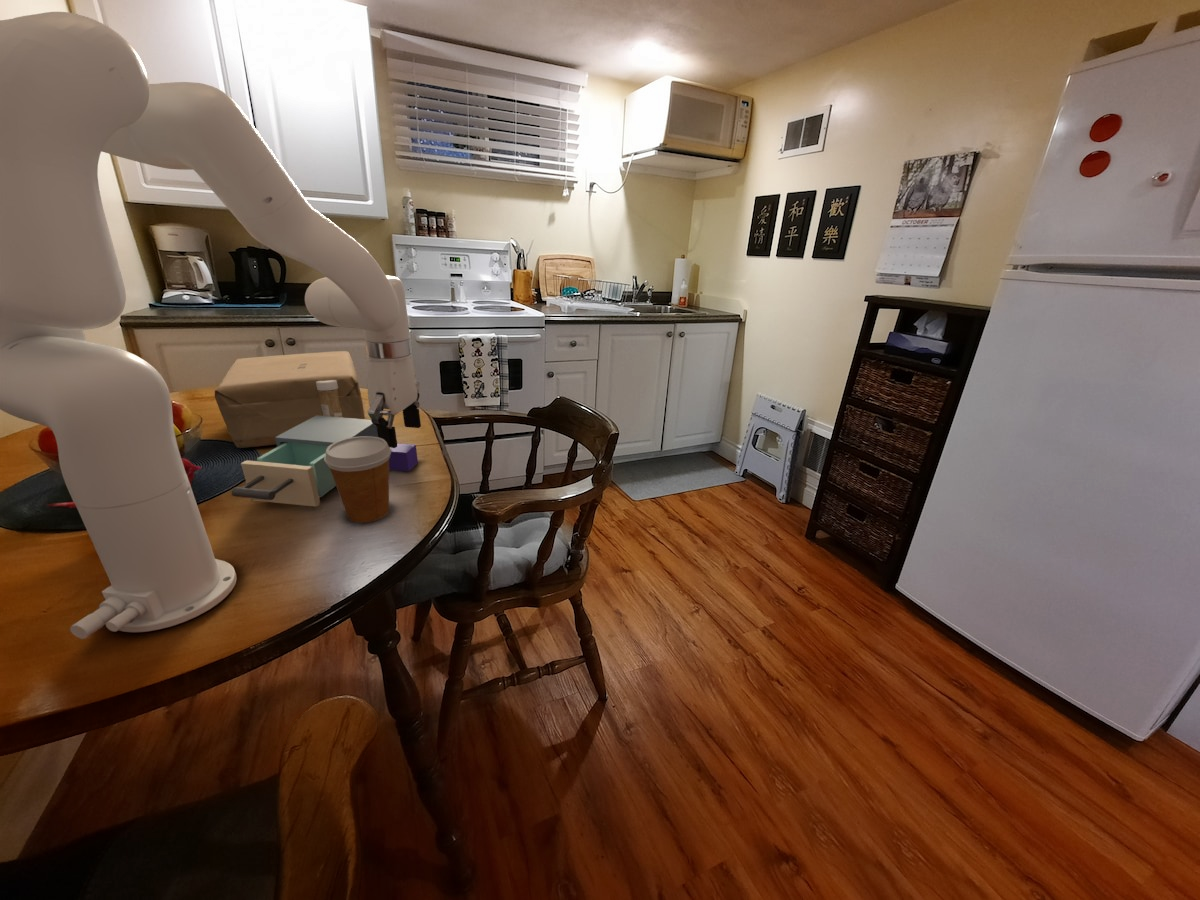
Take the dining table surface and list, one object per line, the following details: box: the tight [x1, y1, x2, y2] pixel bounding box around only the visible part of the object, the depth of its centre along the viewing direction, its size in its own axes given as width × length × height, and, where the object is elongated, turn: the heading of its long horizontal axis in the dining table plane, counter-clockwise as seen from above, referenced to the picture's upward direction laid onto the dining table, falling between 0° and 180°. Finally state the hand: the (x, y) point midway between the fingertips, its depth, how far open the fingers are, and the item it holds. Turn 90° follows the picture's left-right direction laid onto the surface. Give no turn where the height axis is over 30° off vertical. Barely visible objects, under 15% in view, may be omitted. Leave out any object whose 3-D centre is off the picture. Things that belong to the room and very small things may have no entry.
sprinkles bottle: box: [316, 380, 342, 417], centre depth 105 cm, size 5×5×14 cm
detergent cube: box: [389, 442, 419, 472], centre depth 96 cm, size 4×4×4 cm
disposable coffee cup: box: [324, 436, 391, 524], centre depth 78 cm, size 10×10×12 cm
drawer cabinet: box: [275, 415, 378, 447], centre depth 92 cm, size 12×13×9 cm
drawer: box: [231, 442, 337, 507], centre depth 81 cm, size 16×11×7 cm
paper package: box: [214, 350, 366, 449], centre depth 111 cm, size 27×26×14 cm
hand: (401, 436), depth 95 cm, fingers open, 9 cm apart
